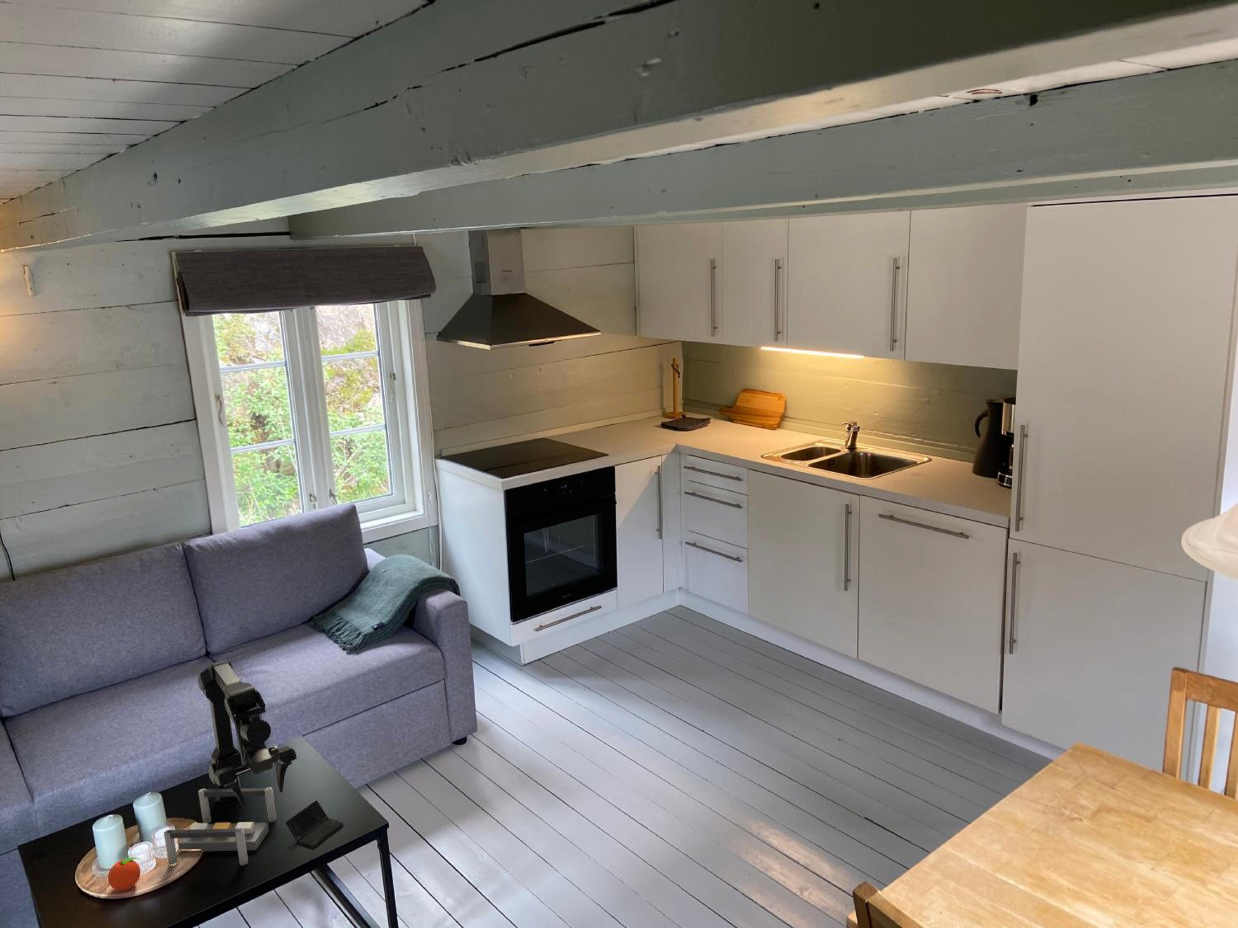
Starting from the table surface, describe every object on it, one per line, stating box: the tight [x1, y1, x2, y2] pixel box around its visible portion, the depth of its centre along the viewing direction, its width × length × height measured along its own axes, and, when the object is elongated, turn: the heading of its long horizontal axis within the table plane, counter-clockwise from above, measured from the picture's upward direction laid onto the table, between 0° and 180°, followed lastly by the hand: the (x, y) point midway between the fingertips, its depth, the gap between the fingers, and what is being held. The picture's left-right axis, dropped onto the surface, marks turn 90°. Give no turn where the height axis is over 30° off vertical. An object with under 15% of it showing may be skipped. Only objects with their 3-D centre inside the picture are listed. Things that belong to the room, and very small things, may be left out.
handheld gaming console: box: [285, 800, 344, 849], centre depth 239 cm, size 12×7×10 cm
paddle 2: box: [235, 821, 255, 834], centre depth 236 cm, size 2×4×2 cm, turn 89°
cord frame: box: [163, 787, 277, 866], centre depth 236 cm, size 20×20×9 cm
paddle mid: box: [213, 822, 232, 829], centre depth 236 cm, size 2×4×2 cm, turn 89°
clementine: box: [107, 856, 143, 891], centre depth 220 cm, size 8×7×7 cm
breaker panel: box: [177, 822, 270, 852], centre depth 237 cm, size 8×20×2 cm, turn 88°
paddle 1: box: [189, 822, 210, 830], centre depth 236 cm, size 2×4×2 cm, turn 88°
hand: (262, 798), depth 228 cm, fingers open, 9 cm apart
